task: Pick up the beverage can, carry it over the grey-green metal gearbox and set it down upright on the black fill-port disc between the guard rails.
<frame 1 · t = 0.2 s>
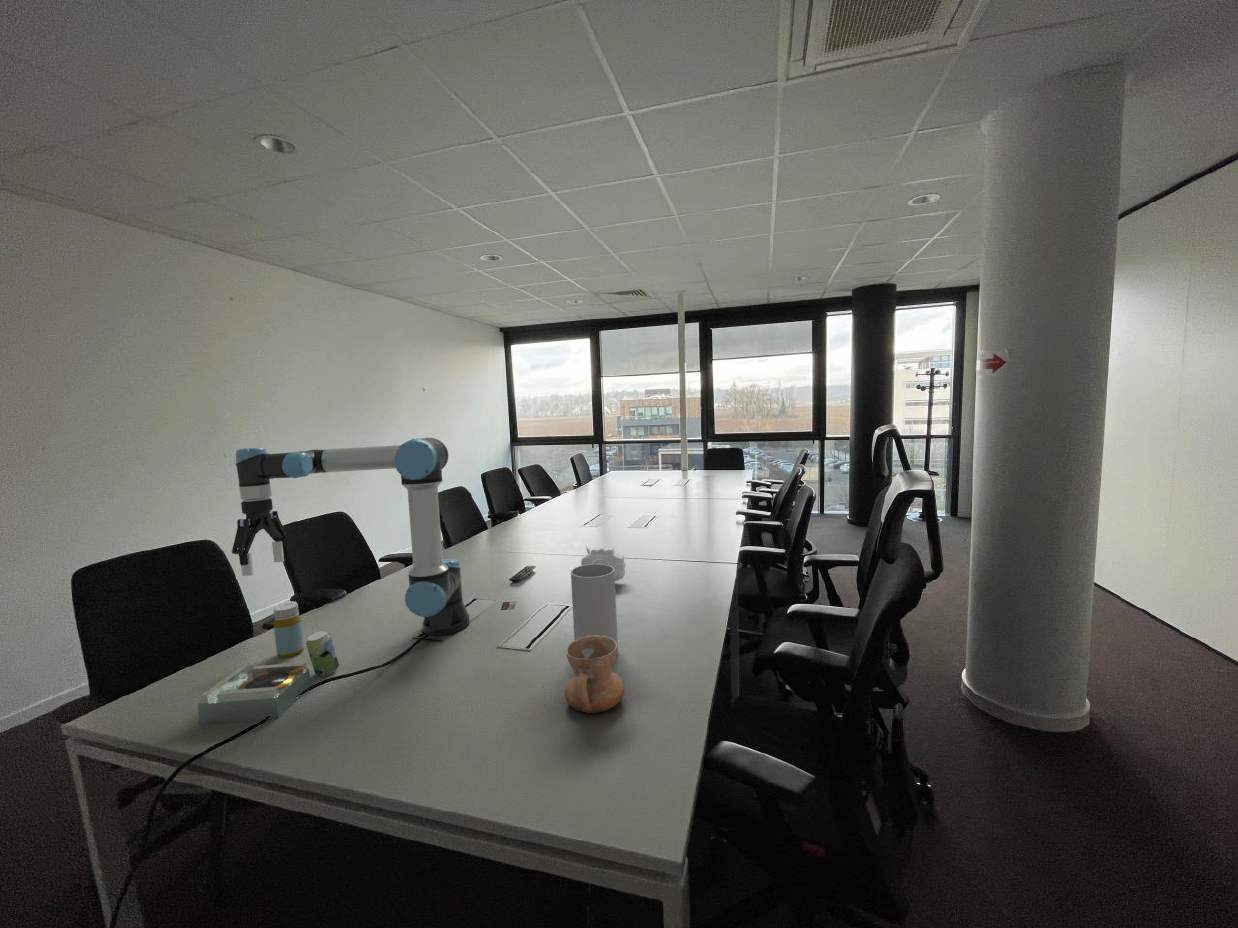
hand: (264, 568, 150), 28 cm above the table, fingers open, 13 cm apart
bottle: (291, 653, 153), on the table
beverage can: (324, 674, 139), on the table
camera: (604, 585, 204), on the table
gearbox: (258, 704, 125), on the table
cylinder vase: (596, 654, 144), on the table
ceramic jug: (594, 704, 119), on the table
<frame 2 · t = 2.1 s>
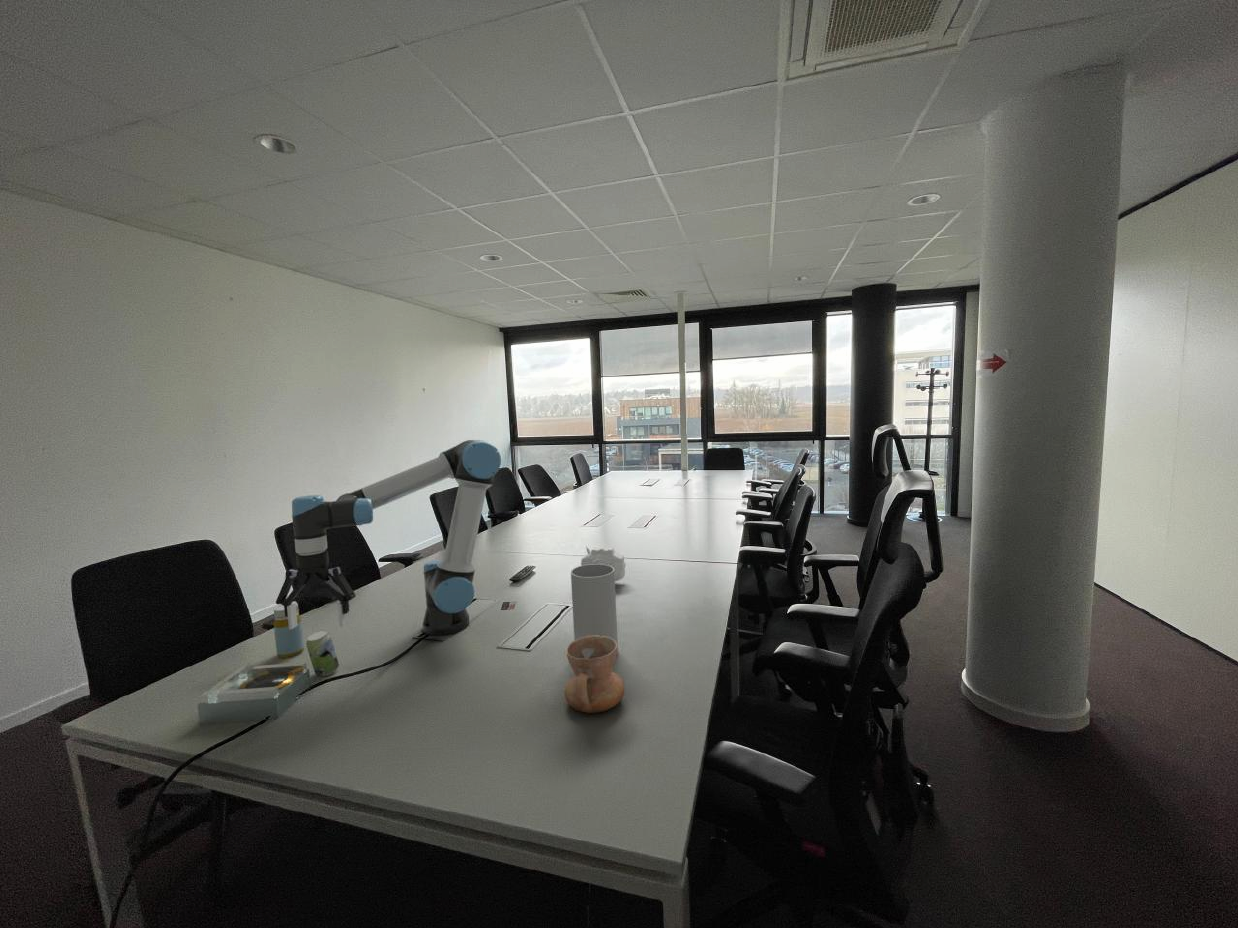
hand: (318, 626, 138), 14 cm above the table, fingers open, 13 cm apart
nothing on the table moved.
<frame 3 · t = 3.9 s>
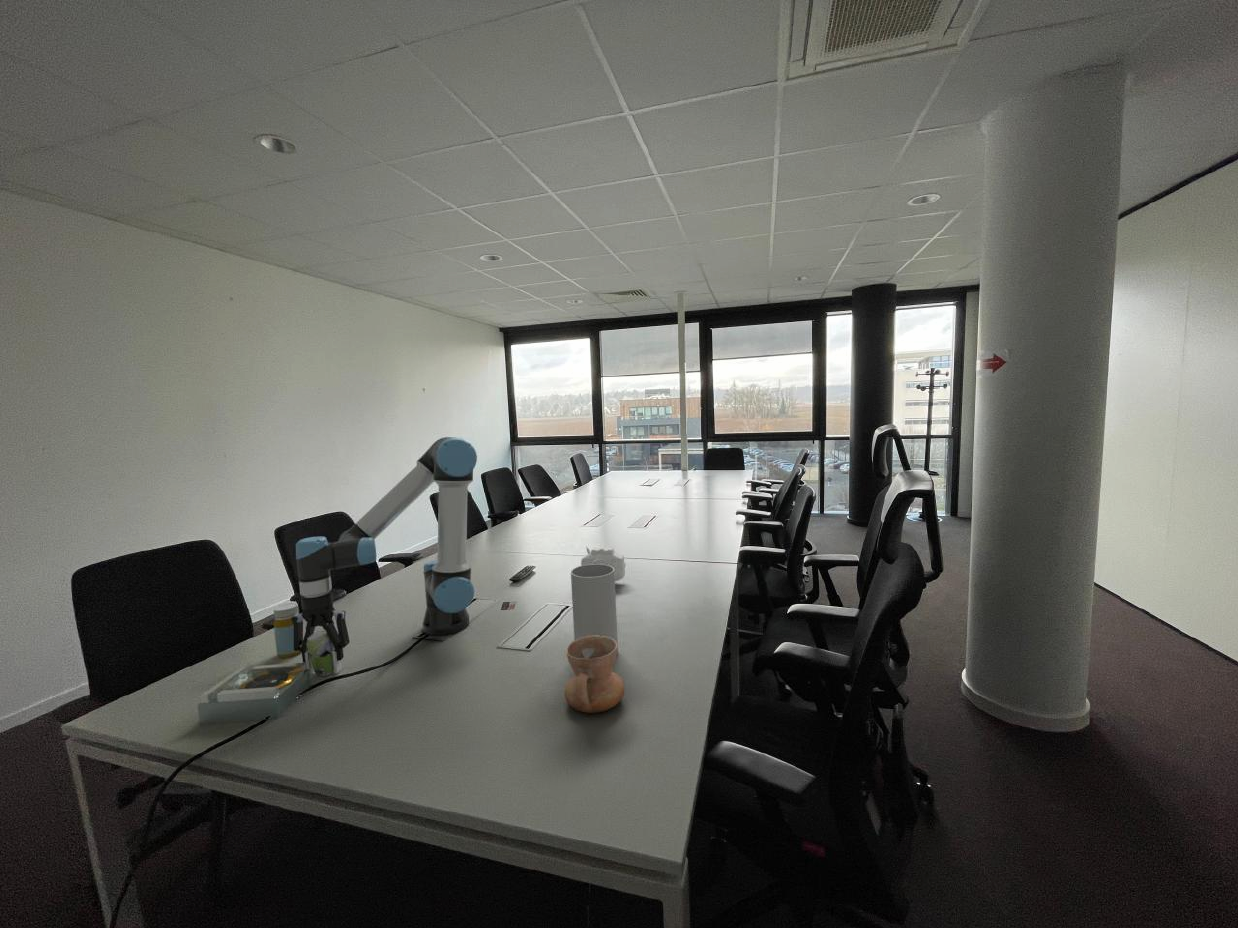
hand: (324, 671, 139), 1 cm above the table, fingers closed on beverage can, 7 cm apart
beverage can: (325, 674, 139), on the table, touching gripper
everything else where it was.
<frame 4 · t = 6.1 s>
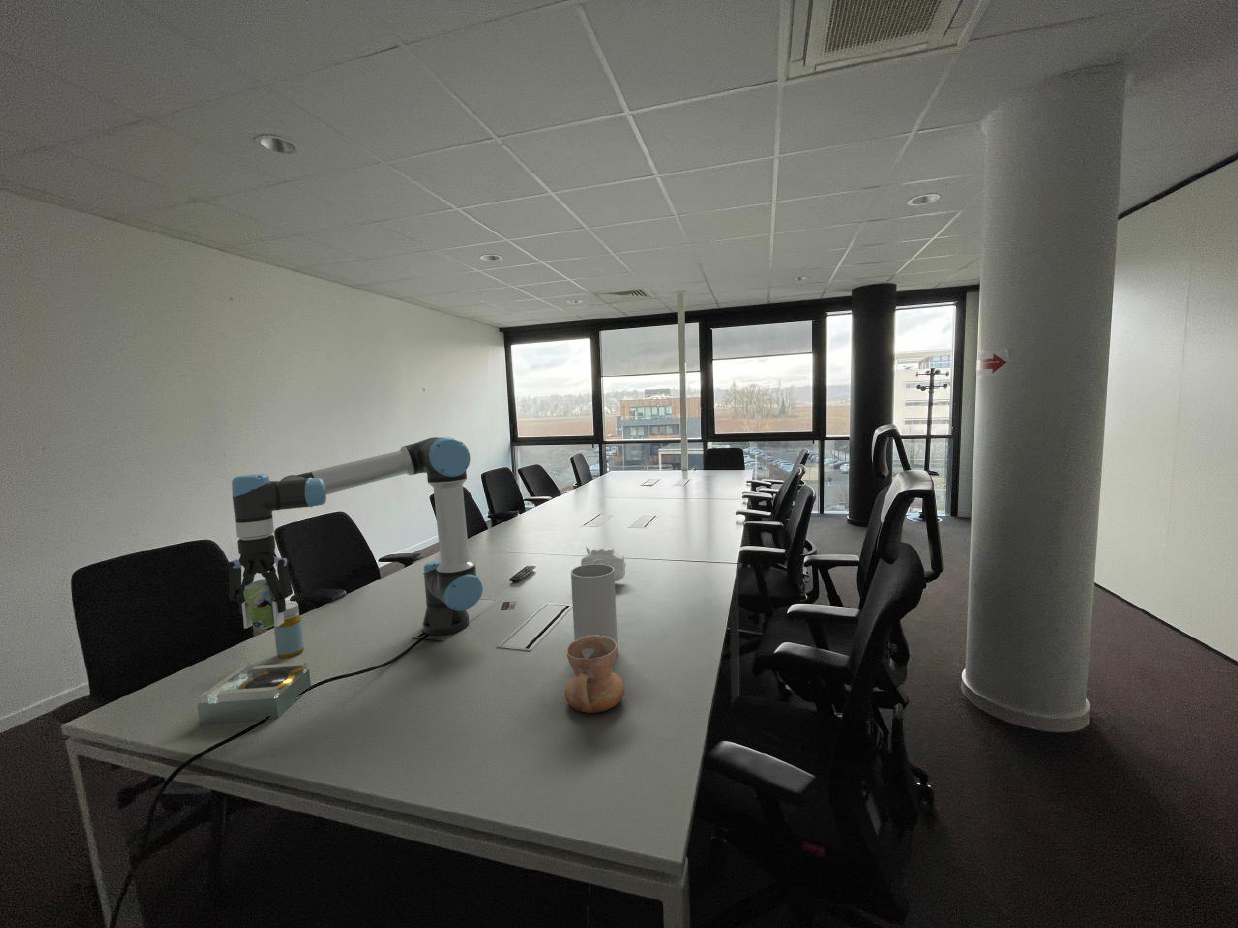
hand: (264, 625, 125), 20 cm above the table, fingers closed on beverage can, 7 cm apart
beverage can: (264, 627, 125), point 19 cm above the table, touching gripper
everything else where it was.
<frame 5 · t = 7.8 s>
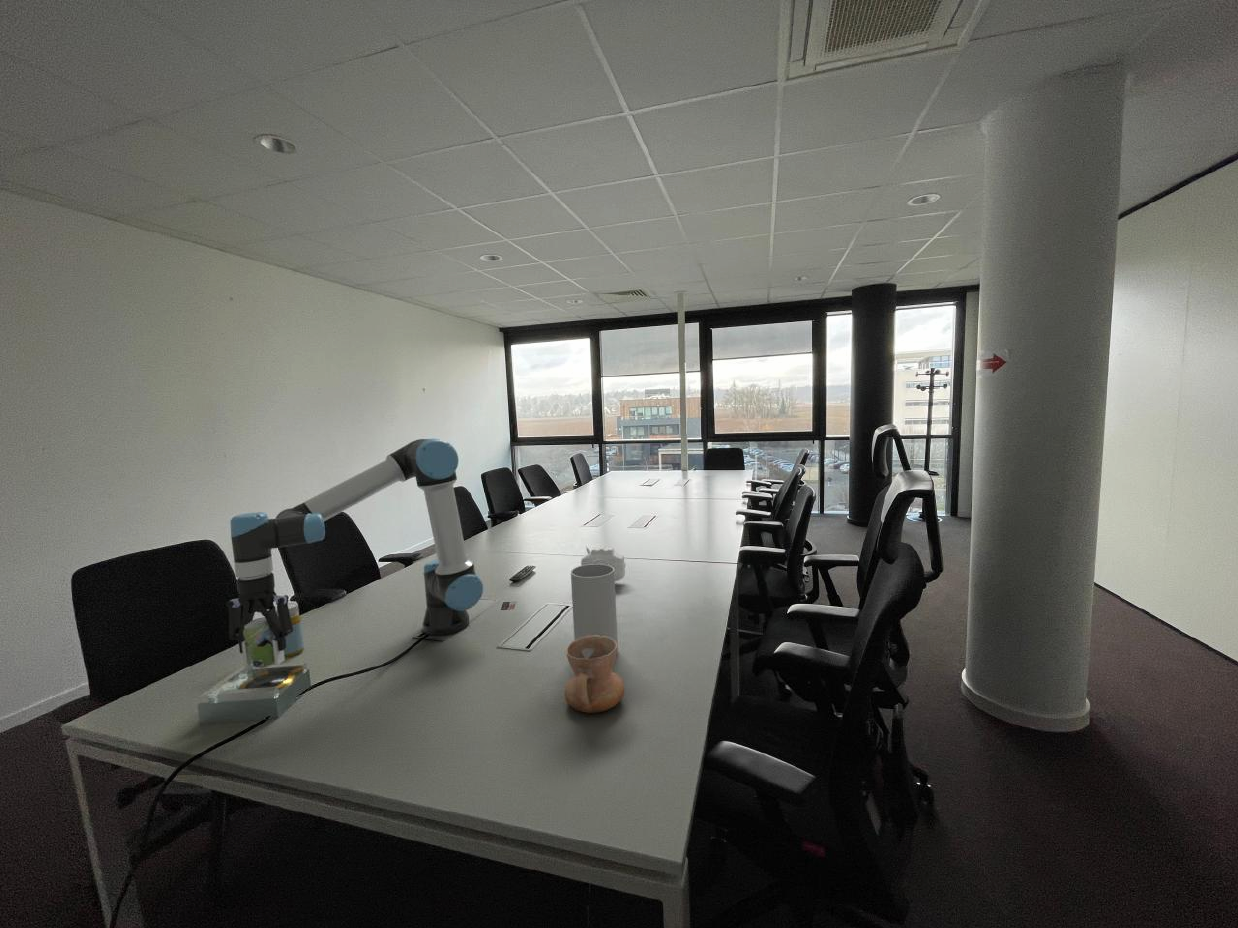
hand: (264, 663, 125), 10 cm above the table, fingers closed on beverage can, 7 cm apart
beverage can: (265, 665, 125), point 10 cm above the table, touching gripper
everything else where it was.
when the fingers open (7 cm above the table, at t = 8.8 s): beverage can stays where it is, resting on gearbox.
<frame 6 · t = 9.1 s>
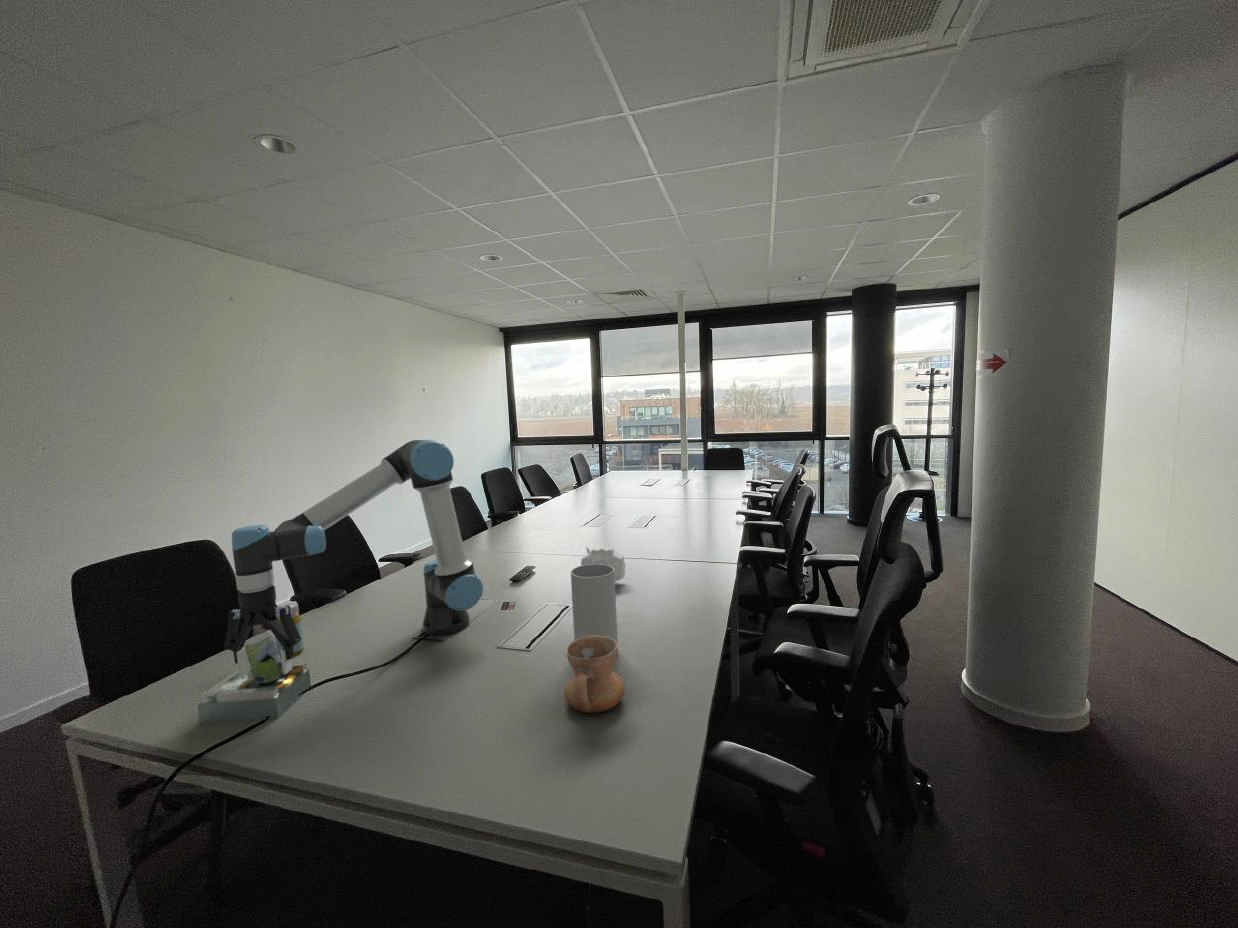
hand: (266, 672, 125), 8 cm above the table, fingers open, 10 cm apart
beverage can: (267, 681, 126), point 5 cm above the table, touching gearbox
everything else where it was.
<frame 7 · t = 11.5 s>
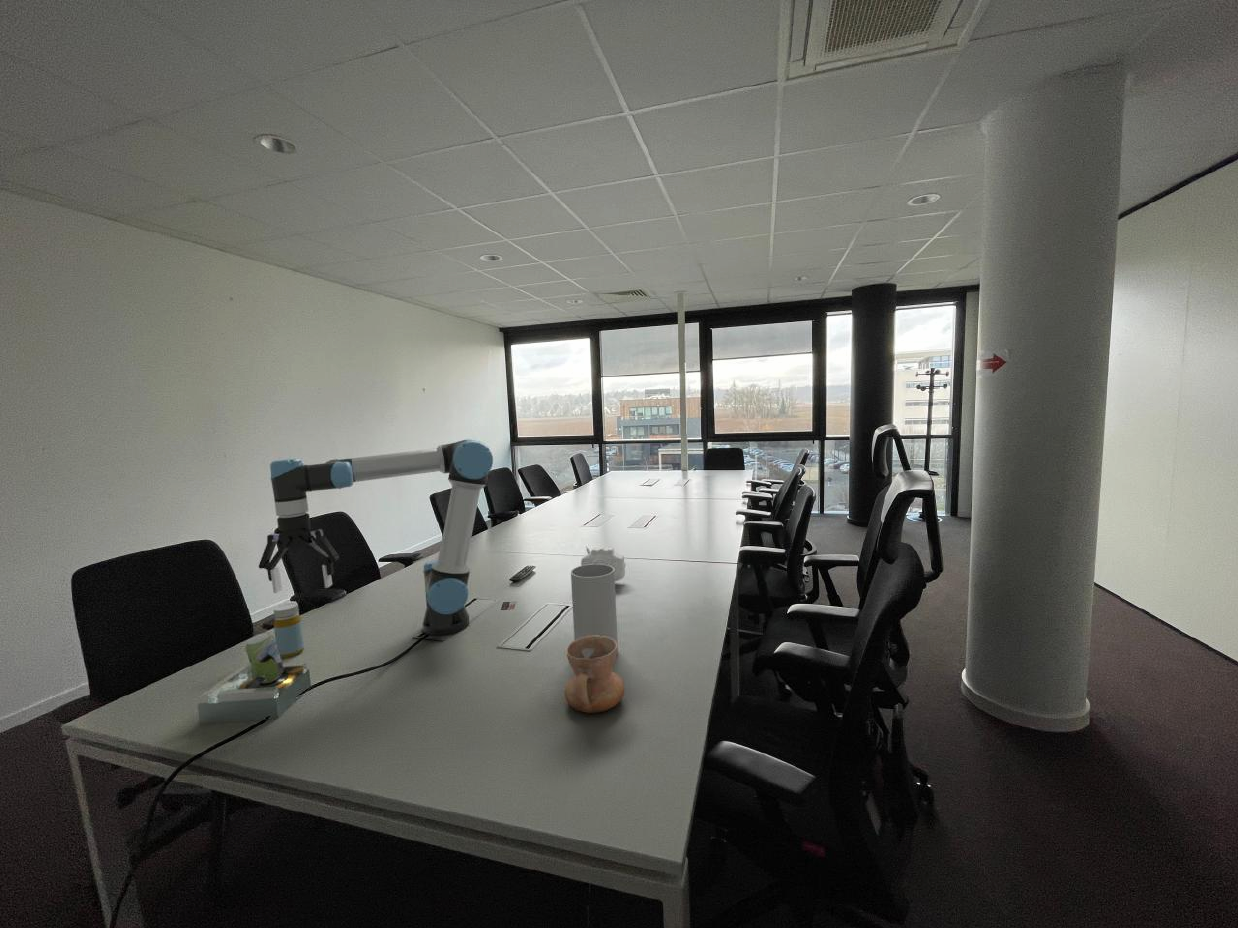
hand: (303, 588, 139), 24 cm above the table, fingers open, 13 cm apart
nothing on the table moved.
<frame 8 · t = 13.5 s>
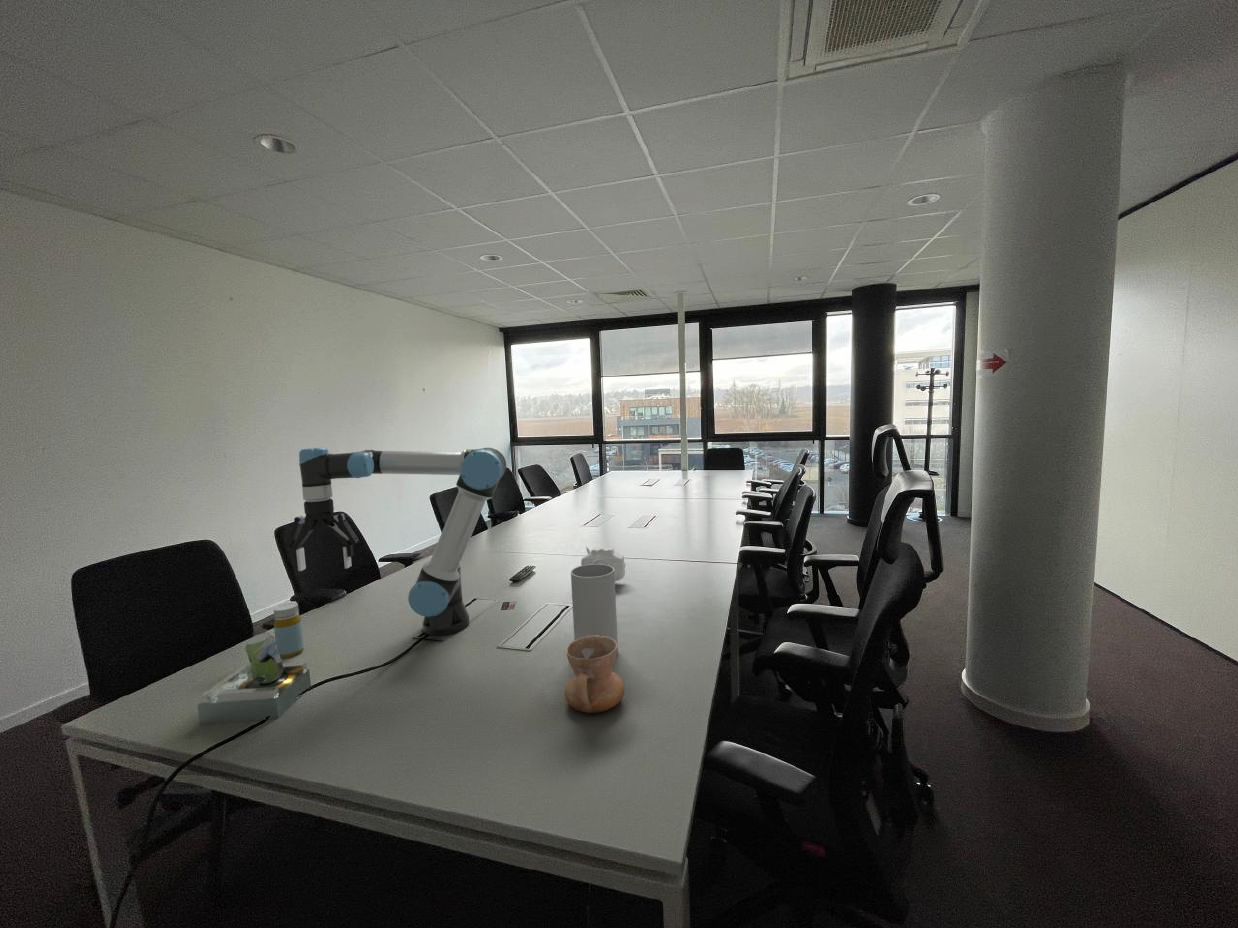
hand: (325, 568, 150), 27 cm above the table, fingers open, 13 cm apart
nothing on the table moved.
at the end: beverage can inside the target area on the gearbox (0.1 cm from its centre), point 5.4 cm above the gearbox's base; beverage can tilted 0°; the gripper is holding nothing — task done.
